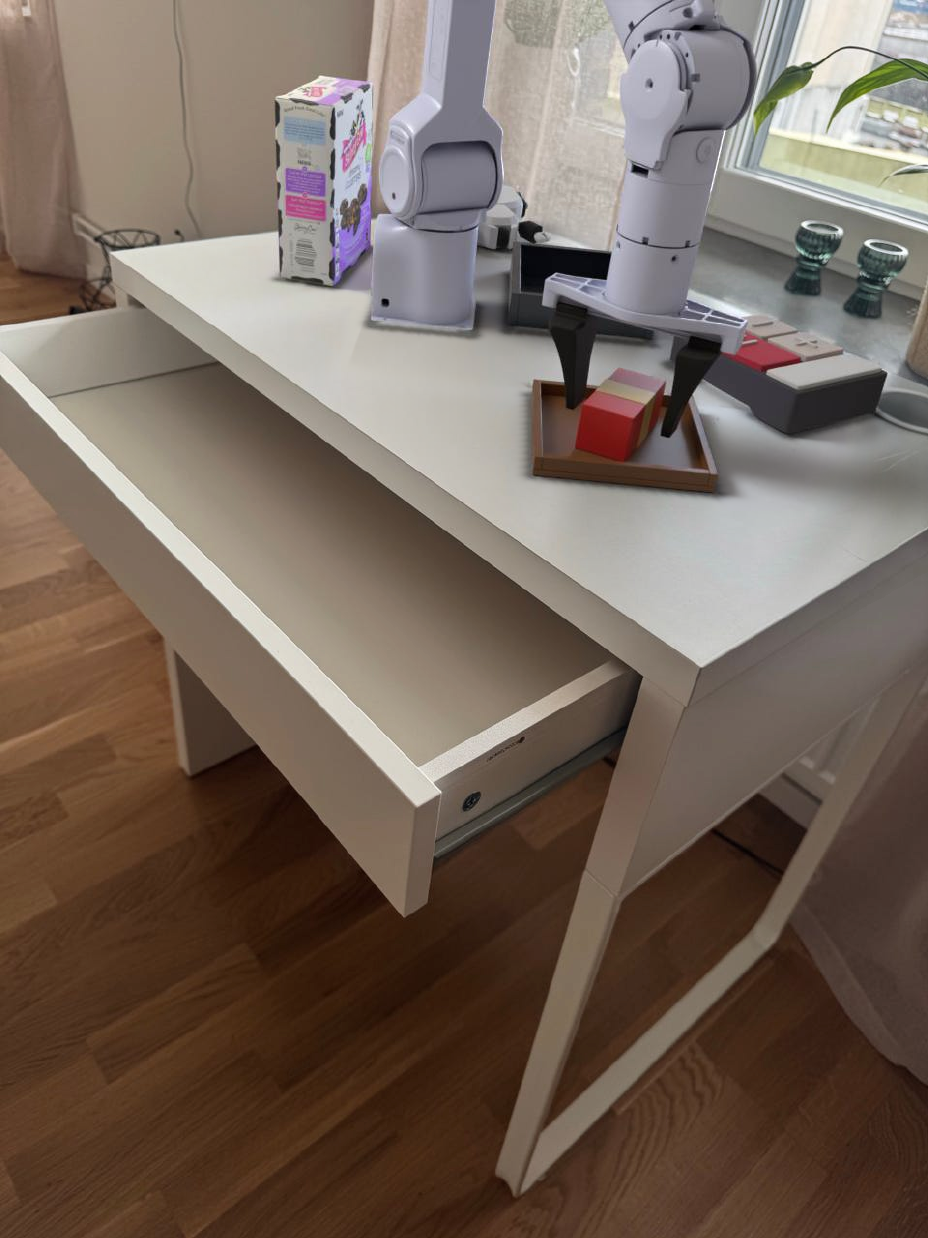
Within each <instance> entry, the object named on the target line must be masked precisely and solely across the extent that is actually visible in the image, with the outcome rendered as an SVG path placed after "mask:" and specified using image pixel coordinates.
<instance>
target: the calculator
mask: <svg viewBox="0 0 928 1238" xmlns="http://www.w3.org/2000/svg"><path fill="white" fill-rule="evenodd" d="M740 318H742V319H746V320H748V324H747V328H746V331H745V335H744V339H743V342H742V346H741V347H740V349H739V350H738V352H737V353H736V354H735V355H731V354H727V353H724V352H722V354H721V355H720V356H719V358H718V359H717V360H716V361H715V363H714V364H713V365H712V366H711V368H710V369H709V370H708V372H707V373H706V375H705V376H704V377H703V379H702V381H704V382H706V383H708V384H710V385H712V386H713V387H715V388H717V389H719V390H720V391H721V392H723V393H725V394H727V395H728V396H730V397H731V398H733V399H735V400H737V401H739V402H741V403H742V404H744V405H745V406H748V407H749V409H750V410H751V412H752V414H753V416H754V417H755V418H756V419H758V420H760V421H762V422H764V423H766V424H768V425H770V426H771V427H773V428H776V429H777V430H778V431H782V432H783V433H785V434H795V433H799V432H801V431H806V430H810V429H814V428H818V427H822V426H825V425H831V424H834V423H837V422H841V421H845V420H849V419H854V418H858V417H861V416H866V415H869V414H873V413H876V411H877V409H878V405H879V402H880V399H881V396H882V393H883V390H884V388H885V387H884V386H885V383H886V381H887V377H888V372H887V371H886V370H884V369H883V368H882V366H880V365H878V364H876V363H873V362H871V361H869V360H866V359H863V358H861V357H860V356H857V355H855V354H851V353H844V348H843V347H841V346H839V345H836V344H834V343H833V342H829V341H827V340H825V339H822V338H820V337H818V336H815V335H813V334H811V333H808V332H805V331H801V332H799V329H798V328H797V327H794V326H791V325H790V324H787V323H784V322H782V321H780V320H777V319H775V318H773V317H770V316H768V315H766V314H763V313H760V314H753V315H748V316H742V317H740ZM688 342H689V340H688V339H684V338H680V337H676V336H673V338H672V345H671V351H670V356H669V360H670V361H671V362H673V363H675V360H676V355H677V353H678V352H679V351H680V349H681V348H682V347H683V346H684V345H686V344H687V343H688Z"/></svg>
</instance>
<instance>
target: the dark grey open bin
mask: <svg viewBox="0 0 928 1238" xmlns="http://www.w3.org/2000/svg"><path fill="white" fill-rule="evenodd" d="M511 249H512V250H511V259H510V266H509V267H510V268H509V289H508V291H509V293H508V313H507V314H508V315H507V316H508V319H507V324H508V326H512V327H523V328H532V329H544V330H549V320H550V318H552V317H553V316H554V313H555V311H556V308H551V307H547V306H543V305H542V302H543V294H544V287H545V280H546V279H547V278H549V277H550V276H552V275H553V274H555V273H560V274H564V275H570V276H575V277H583V278H591V279H599V280H607V277H608V271H609V265H610V259H611V254H612V250H603V249H602V250H601V249H594V248H584V247H583V248H582V247H574V246H573V247H572V246H563V245H553V244H545V243H531V242H525V241H524V242H523V241H516V242H515V241H513V248H511ZM654 332H655V331H653V330H649V329H645V328H642V327H638V326H634V325H630V324H626V323H622V322H618V321H615V320H611V319H607V318H603V317H601V319H600V322H599V326H598V329H597V333H596V335H602V336H612V337H620V338H621V337H622V338H631V339H632V338H633V339H641V340H652V341H653V337H654Z"/></svg>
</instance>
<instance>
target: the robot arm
mask: <svg viewBox="0 0 928 1238" xmlns="http://www.w3.org/2000/svg"><path fill="white" fill-rule="evenodd" d="M603 3H604V5H605V8H606V10H607V13H608V15H609V18H610V21H611V24H612V26H613V28H614V31H615V34H616V36H617V38H618V42H619V45H620V47H621V49H622V52H623V55H624V57H625V60H626V63H627V65H628V66H627V69H626V72H622V73H621V75H620V82H619V96H620V97H619V100H620V105H621V109H622V114H623V119H624V123H625V127H624V128H625V130H624V138H623V144H622V148H623V149H624V157H625V159H626V160H627V162H626V163H627V165H626V168H625V169H626V170H625V175H624V181H623V187H622V193H621V198H620V204H619V209H618V215H617V221H616V225H615V226H616V227H615V231H614V238H613V242H612V249H611V251H612V254H611V259H610V265H609V271H608V277H607V280H599V279H591V278H583V277H575V276H570V275H564V274H560V273H555V274H553V275H552V276H550V277H549V278H547V279H546V280H545V287H544V294H543V302H542V305H543V306H547V307H551V308H556V311H555V313H554V316H553V317H552V318H550V320H549V329H548V332H549V334H550V336H551V338H552V341H553V343H554V346H555V349H556V352H557V355H558V358H559V362H560V366H561V372H562V377H563V382H564V385H565V397H566V408H568V409H571V410H574V409H575V408H576V407H577V406H578V405H579V404H580V403H581V402H582V401H583V399H584V395H585V391H586V386H587V385H588V378H589V372H590V363H591V357H592V353H593V348H594V344H595V339H596V336H597V334H596V333H597V329H598V326H599V322H600V319H601V317H603V318H607V319H611V320H615V321H618V322H622V323H626V324H630V325H634V326H638V327H642V328H645V329H649V330H653V331H654V332H657V333H661V334H666V335H669V336H672V337H674V336H676V337H680V338H684V339H688V340H689V342H688V343H687V344H686V345H684V346H683V347H682V348H681V349H680V351H679V352H678V353H677V355H676V360H675V362H674V372H673V379H672V386H671V391H670V393H671V396H670V400H669V404H668V407H667V410H666V414H665V417H664V420H663V424H662V428H661V435H660V436H663V437H666V438H670V437H671V436H672V434H673V433H674V432H675V430H676V429H677V426H678V423H679V421H680V418H681V416H682V414H683V412H684V409H685V407H686V405H687V403H688V402H689V400H690V398H691V396H692V395H693V394H694V393H695V391H696V390H697V388H698V386H699V385H700V383H701V382H702V381H703V377H704V376H705V375H706V373H707V372H708V370H709V369H710V368H711V366H712V365H713V364H714V363H715V361H716V360H717V359H718V358H719V356H720V355H721V354H722V352H724V353H727V354H731V355H735V354H736V353H737V352H738V350H739V349H740V347H741V346H742V342H743V339H744V335H745V331H746V328H747V324H748V320H746V319H742V318H741V317H739V316H735V315H732V314H729V313H726V312H724V311H721V310H718V309H716V308H714V307H710V306H708V305H705V304H703V303H701V302H698V301H695V300H692V299H690V298H689V297H688V295H689V290H690V286H691V282H692V278H693V273H694V269H695V264H696V260H697V256H698V252H699V248H700V242H701V238H702V234H703V229H704V224H705V221H706V216H707V212H708V207H709V203H710V199H711V194H712V190H713V185H714V182H715V177H716V173H717V168H718V165H719V161H720V160H719V159H720V156H721V152H722V148H723V147H722V146H723V142H724V139H725V135H726V134H725V133H726V131H730V130H731V129H733V128H734V127H736V126H737V125H738V124H739V123H740V122H741V121H742V120H743V118H744V117H745V116H746V114H747V113H748V111H749V109H750V106H751V105H752V102H753V100H754V96H755V93H756V88H757V82H758V81H757V79H758V69H757V61H756V56H755V53H754V47H753V42H752V39H751V38H750V37H749V36H748V35H747V33H745V32H744V30H742V29H740V28H738V27H735V26H731V25H729V24H728V23H727V22H726V20H725V18H724V16H723V15H720V14H718V13H717V9H716V7H715V5H714V2H713V0H603ZM427 5H428V8H427V18H426V30H425V42H424V55H423V64H422V77H421V91H420V93H419V94H418V95H417V96H416V97H415V98H413V100H411V101H410V102H409V103H408V104H407V105H405V106H404V107H403V108H401V109H400V110H399V111H397V112H396V113H395V114H394V115H393V116H392V117H391V118H390V119H389V120H388V131H387V137H386V143H385V147H384V150H383V153H382V155H381V158H380V161H379V166H378V184H379V190H380V194H381V197H382V200H383V202H384V204H385V206H386V207H387V209H388V211H389V212H390V213H379V214H378V215H377V217H376V221H375V224H374V225H375V226H374V232H373V233H374V235H373V247H372V248H373V249H372V277H371V281H370V282H371V283H370V296H371V317H370V320H371V321H374V322H383V323H384V322H385V323H393V324H404V325H413V326H422V327H423V326H424V327H434V328H442V329H453V330H463V331H472V330H473V329H474V325H475V323H474V322H475V315H476V314H475V312H476V305H477V300H475V299H473V294H474V293H473V292H474V280H475V271H476V270H475V269H476V258H477V247H478V245H477V237H478V226H479V223H482V222H486V215H487V211H489V210H491V209H492V208H493V207H494V206H495V205H496V203H497V201H498V199H499V197H500V194H501V191H502V187H503V185H504V179H505V177H504V176H505V172H504V164H503V155H502V146H503V145H502V144H503V136H504V130H503V127H502V126H501V125H500V124H499V122H498V121H497V120H496V119H495V118H494V116H492V114H491V113H490V112H489V111H488V110H487V109H486V107H485V106H484V105H485V96H486V87H487V81H488V80H487V78H488V71H489V62H490V54H491V47H492V38H493V30H494V22H495V16H496V15H495V13H496V6H497V0H428V4H427ZM693 396H694V395H693Z"/></svg>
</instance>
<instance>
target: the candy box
mask: <svg viewBox="0 0 928 1238" xmlns="http://www.w3.org/2000/svg"><path fill="white" fill-rule="evenodd" d="M274 122H275V124H274V125H275V131H274V132H275V163H276V164H275V165H276V167H275V168H276V190H277V191H276V196H277V197H276V198H277V220H278V221H277V230H278V261H279V262H278V263H279V264H278V265H279V267H278V268H279V278H282V279H283V278H284V279H289V280H294V281H299V282H300V281H301V282H305V283H306V282H307V283H312V284H318V285H323V286H328V287H333V286H335V285H336V284H337V283H338V282H339V281H340V280H341V278H342V277H344V275H345V274H347V272H348V271H349V270H350V269H351V268H352V267H354V265H355V264H356V263H357V262H358V261H359V260H360V259H361V257H362V256H363V255H365V254H366V252H367V251H368V250H369V249H370V248H371V247H372V246H371V245H372V244H371V238H372V237H371V236H372V235H371V234H372V184H373V183H372V182H373V179H372V178H373V172H372V171H373V129H374V127H373V126H374V124H373V123H374V82H372V81H363V80H358V79H357V80H356V79H349V78H343V77H342V78H341V77H334V76H333V77H332V76H325V75H318V77H317V78H316V79H315V80H312V81H310V82H307V83H304V84H303V85H300V86H299V87H296V88H295V89H293V90H290V91H288V92H286V93H284V94H282V95H277V96H275V97H274Z"/></svg>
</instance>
